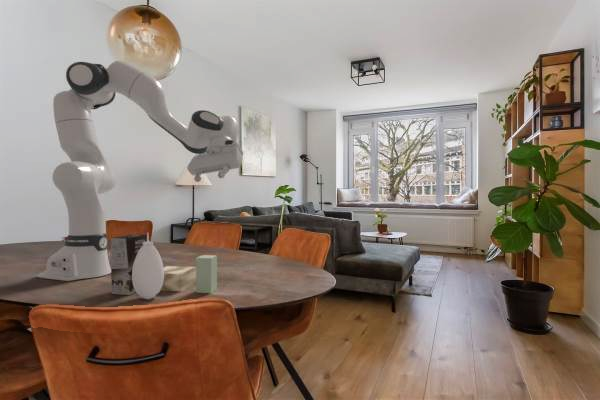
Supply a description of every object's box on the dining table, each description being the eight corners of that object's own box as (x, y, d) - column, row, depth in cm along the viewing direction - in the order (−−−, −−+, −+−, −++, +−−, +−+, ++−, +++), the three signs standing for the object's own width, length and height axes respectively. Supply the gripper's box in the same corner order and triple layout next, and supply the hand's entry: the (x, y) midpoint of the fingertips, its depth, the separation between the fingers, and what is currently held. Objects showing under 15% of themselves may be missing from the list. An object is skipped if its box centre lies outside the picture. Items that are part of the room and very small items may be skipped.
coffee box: (130, 295, 97) (129, 237, 97) (110, 294, 99) (109, 237, 98) (150, 286, 106) (150, 234, 106) (132, 285, 107) (131, 233, 107)
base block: (149, 290, 103) (148, 273, 103) (166, 281, 113) (166, 265, 112) (181, 291, 101) (181, 274, 101) (196, 282, 111) (196, 266, 111)
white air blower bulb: (140, 305, 89) (139, 234, 89) (127, 298, 94) (126, 232, 94) (169, 298, 95) (168, 232, 95) (155, 292, 100) (155, 230, 100)
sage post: (196, 292, 100) (196, 257, 100) (202, 288, 105) (202, 255, 105) (211, 293, 100) (211, 258, 99) (217, 288, 104) (216, 255, 104)
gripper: (190, 149, 128) (178, 176, 120) (239, 139, 122) (230, 168, 113) (199, 161, 133) (188, 188, 124) (247, 152, 126) (238, 181, 117)
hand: (208, 178), depth 118 cm, fingers open, 8 cm apart
